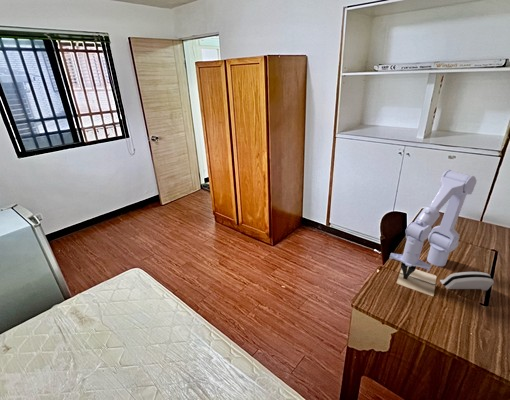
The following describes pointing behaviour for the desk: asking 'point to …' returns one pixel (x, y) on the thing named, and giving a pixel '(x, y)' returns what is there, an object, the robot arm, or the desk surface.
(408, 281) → the board
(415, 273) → the laid board
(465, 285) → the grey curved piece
